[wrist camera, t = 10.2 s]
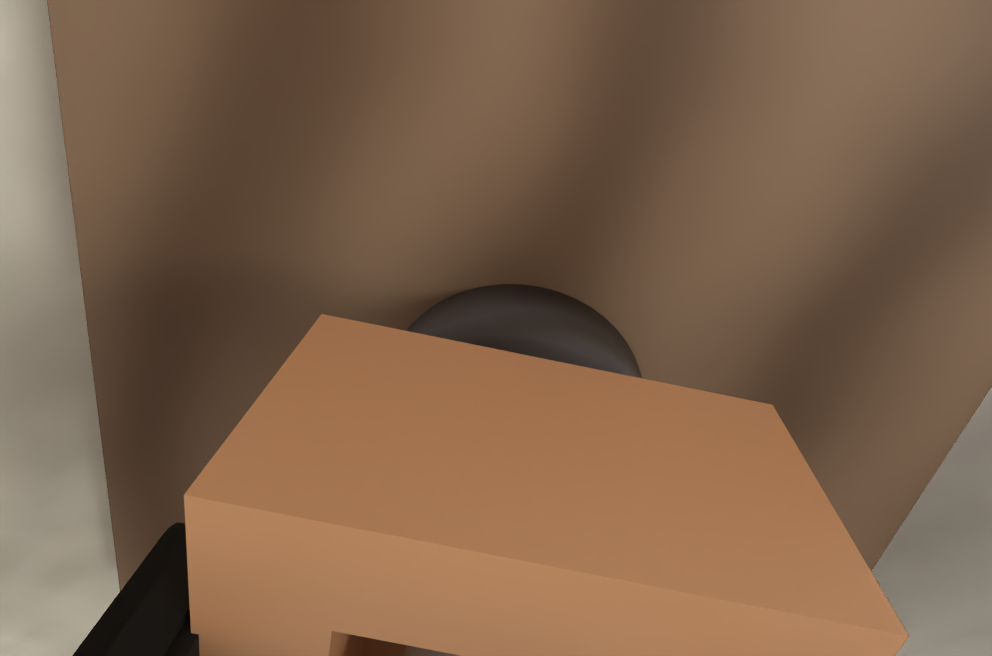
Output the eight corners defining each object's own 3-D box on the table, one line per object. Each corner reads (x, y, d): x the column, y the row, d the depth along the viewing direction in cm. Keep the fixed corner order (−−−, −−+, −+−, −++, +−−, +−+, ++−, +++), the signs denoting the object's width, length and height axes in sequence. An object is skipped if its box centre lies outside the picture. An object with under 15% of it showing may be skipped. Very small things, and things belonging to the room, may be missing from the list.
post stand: (1148, 22, 12) (2815, 29, 3) (751, 685, 21) (898, 1155, 12) (81, -210, 11) (-1400, -942, 3) (150, 571, 20) (-138, 974, 12)
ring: (772, 405, 10) (909, 635, 6) (639, 686, 13) (676, 948, 9) (321, 313, 9) (183, 495, 6) (300, 621, 13) (202, 862, 9)
